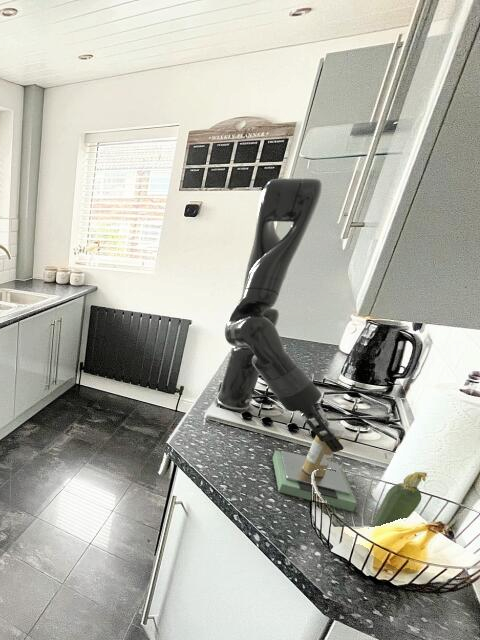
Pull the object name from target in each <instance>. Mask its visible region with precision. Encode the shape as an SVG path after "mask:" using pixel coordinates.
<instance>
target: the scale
mask: <svg viewBox="0 0 480 640" xmlns="http://www.w3.org/2000/svg"><path fill="white" fill-rule="evenodd" d="M280 452H281V451H280V450H274V452H273V455H272V464H273V467H274V473H275V478H276V479H275V480H276V485H277V491H278V493H281V494H284V495H289V496H293V497H296V498H299V499H304V500H308V501H311V492H312V491H311V486H310V485H306V484H302V483H297V482H293V481H289V480H286V478H285V473H284V469H283V464H282V459H281V455H280ZM338 465H339V464H338ZM339 467H340V470H341V472H342V475H343V477H344V479H345V482H346V484H347V487H348V489H349V491H350V495H349V496H348V495H344V494H340V493H336V492H333V491H329V490H325V489H322V488H318V490H319V492H320V493H321V495H322V496H323V498H324V499H326V500H327V503H329V504H331V505H332V506H331V507H334V508H338V509H341V510H345V511H349V512H354V511H355V509H356V506H357V504H358V503H357V500H356V498H355V495H354V493H353V491H352V487H351V486H350V483H349V480H348V478H347V476H346V473H345V471H344V469H343V467H342V465H339ZM332 501H333V502H332Z"/></svg>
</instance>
